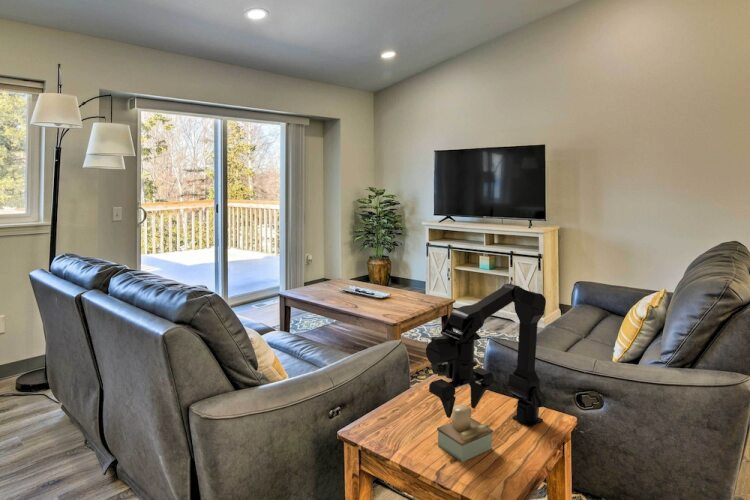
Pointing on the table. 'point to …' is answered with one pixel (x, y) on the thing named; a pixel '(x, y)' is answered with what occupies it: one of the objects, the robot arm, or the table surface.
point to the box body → (465, 446)
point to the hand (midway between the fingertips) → (461, 412)
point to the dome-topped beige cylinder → (461, 418)
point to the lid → (465, 432)
